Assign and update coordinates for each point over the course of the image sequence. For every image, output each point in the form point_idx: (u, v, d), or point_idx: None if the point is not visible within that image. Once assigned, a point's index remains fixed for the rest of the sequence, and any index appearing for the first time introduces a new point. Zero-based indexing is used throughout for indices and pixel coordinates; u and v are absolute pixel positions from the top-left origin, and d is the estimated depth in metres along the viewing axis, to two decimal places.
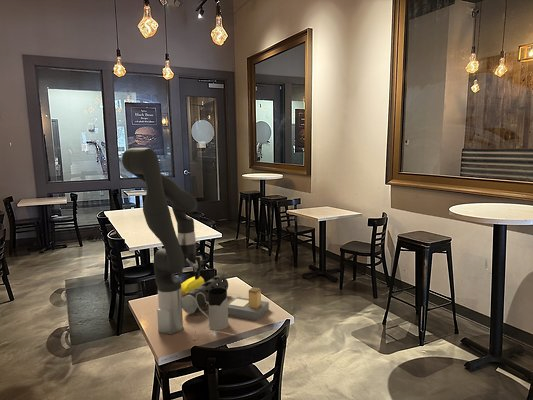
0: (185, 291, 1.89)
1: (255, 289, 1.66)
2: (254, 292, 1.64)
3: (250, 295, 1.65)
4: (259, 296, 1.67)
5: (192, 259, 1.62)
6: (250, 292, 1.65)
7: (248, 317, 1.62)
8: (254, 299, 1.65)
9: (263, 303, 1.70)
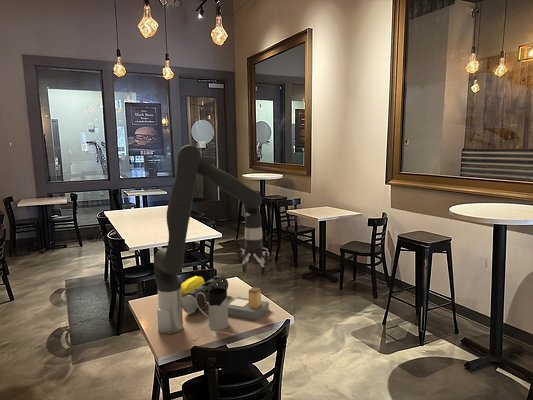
0: (185, 291, 1.89)
1: (255, 289, 1.66)
2: (254, 292, 1.64)
3: (250, 295, 1.65)
4: (259, 296, 1.67)
5: (259, 254, 1.62)
6: (250, 292, 1.65)
7: (248, 317, 1.62)
8: (254, 299, 1.65)
9: (263, 303, 1.70)
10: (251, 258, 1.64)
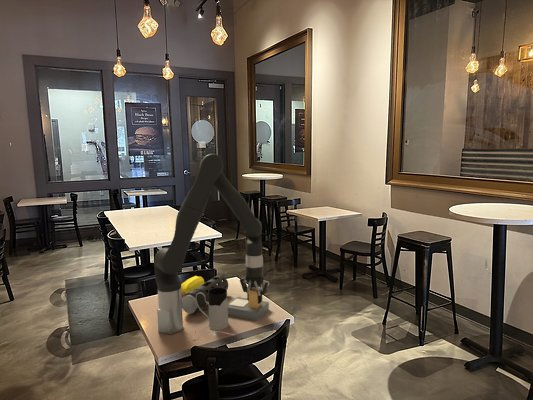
0: (185, 291, 1.88)
1: (255, 289, 1.66)
2: (254, 292, 1.64)
3: (250, 295, 1.65)
4: None
5: (259, 283, 1.64)
6: (250, 292, 1.65)
7: (248, 317, 1.62)
8: (254, 299, 1.65)
9: (263, 303, 1.70)
10: (253, 284, 1.65)
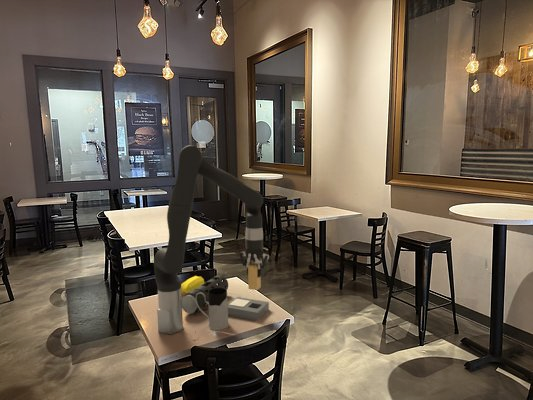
0: (186, 291, 1.88)
1: (255, 263, 1.64)
2: (254, 266, 1.63)
3: (250, 269, 1.64)
4: None
5: (259, 257, 1.62)
6: (250, 266, 1.63)
7: (248, 317, 1.62)
8: (254, 273, 1.63)
9: (263, 303, 1.70)
10: (253, 258, 1.63)
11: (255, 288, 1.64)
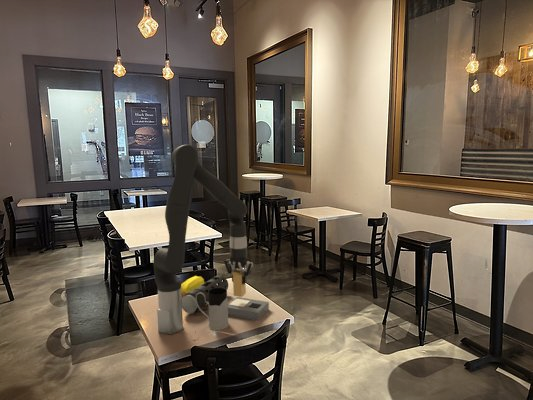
0: (186, 291, 1.88)
1: (239, 271, 1.68)
2: (238, 273, 1.66)
3: (234, 276, 1.67)
4: None
5: (243, 264, 1.66)
6: (234, 273, 1.67)
7: (248, 317, 1.62)
8: (239, 281, 1.67)
9: (263, 303, 1.70)
10: (237, 266, 1.67)
11: (240, 295, 1.68)
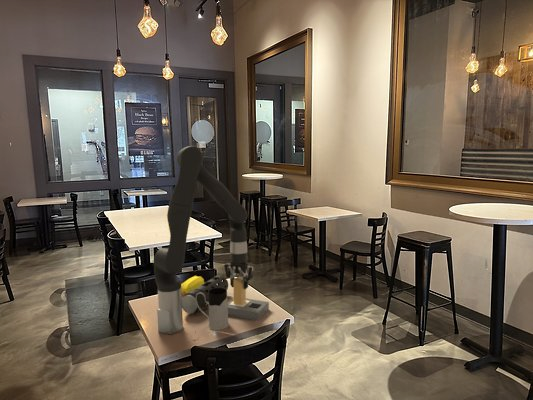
0: (186, 291, 1.88)
1: (240, 279, 1.69)
2: (239, 281, 1.67)
3: (235, 284, 1.68)
4: None
5: (244, 269, 1.66)
6: (235, 281, 1.68)
7: (248, 317, 1.62)
8: (239, 288, 1.67)
9: (263, 303, 1.70)
10: (237, 271, 1.67)
11: (240, 303, 1.68)
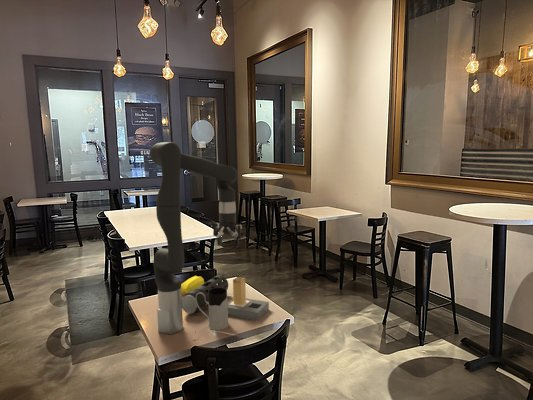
0: (186, 291, 1.88)
1: (240, 279, 1.69)
2: (238, 281, 1.67)
3: (234, 284, 1.68)
4: (244, 285, 1.69)
5: (232, 228, 1.70)
6: (234, 281, 1.68)
7: (248, 317, 1.62)
8: (239, 288, 1.67)
9: (263, 303, 1.70)
10: (225, 231, 1.72)
11: (240, 303, 1.68)
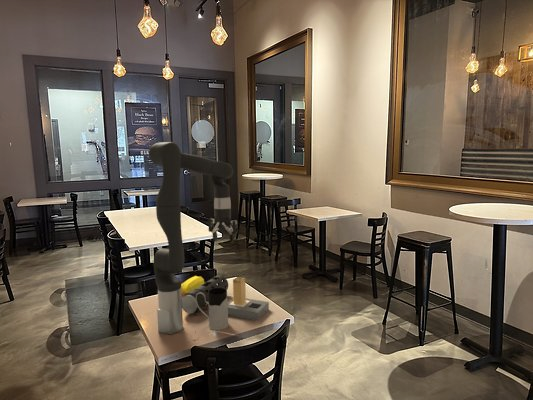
0: (186, 291, 1.88)
1: (240, 279, 1.69)
2: (238, 281, 1.67)
3: (234, 284, 1.68)
4: (244, 285, 1.69)
5: (227, 223, 1.72)
6: (234, 281, 1.68)
7: (248, 317, 1.62)
8: (239, 288, 1.67)
9: (263, 303, 1.70)
10: (220, 227, 1.74)
11: (240, 303, 1.68)
